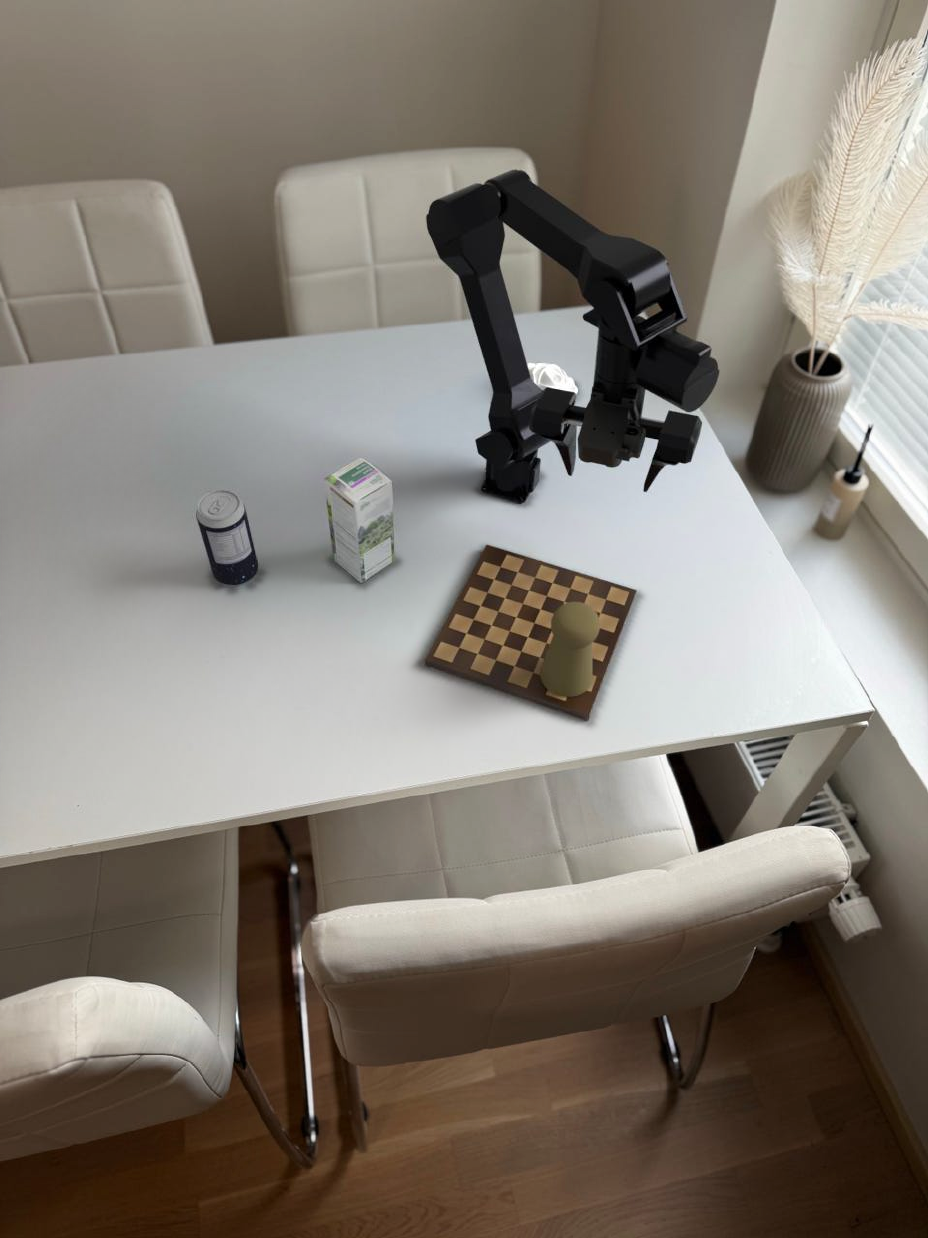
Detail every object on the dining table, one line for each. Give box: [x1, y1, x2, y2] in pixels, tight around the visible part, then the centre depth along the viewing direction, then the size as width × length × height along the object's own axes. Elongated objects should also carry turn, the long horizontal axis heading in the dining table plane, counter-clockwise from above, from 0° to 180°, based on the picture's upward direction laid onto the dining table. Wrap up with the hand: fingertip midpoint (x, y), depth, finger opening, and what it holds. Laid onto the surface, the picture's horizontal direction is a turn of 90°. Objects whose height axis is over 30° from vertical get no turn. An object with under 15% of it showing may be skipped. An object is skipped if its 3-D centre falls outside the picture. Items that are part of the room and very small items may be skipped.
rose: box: [527, 362, 579, 395], centre depth 138 cm, size 10×4×10 cm
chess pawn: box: [540, 602, 600, 697], centre depth 101 cm, size 6×6×11 cm
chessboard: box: [424, 544, 638, 722], centre depth 111 cm, size 20×20×1 cm
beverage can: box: [195, 489, 259, 587], centre depth 111 cm, size 6×6×12 cm
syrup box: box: [323, 456, 396, 584], centre depth 112 cm, size 6×6×14 cm
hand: (607, 481), depth 111 cm, fingers open, 9 cm apart
